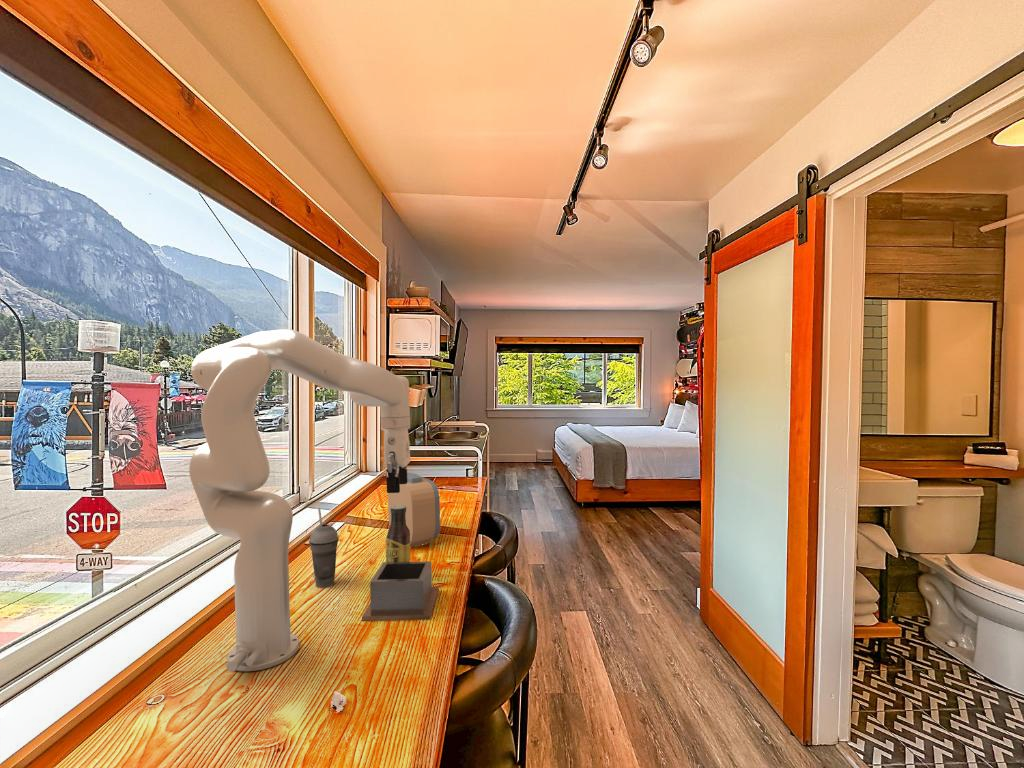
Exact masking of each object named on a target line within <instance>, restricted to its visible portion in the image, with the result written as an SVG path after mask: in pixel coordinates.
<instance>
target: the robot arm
mask: <svg viewBox="0 0 1024 768" xmlns="http://www.w3.org/2000/svg"><path fill="white" fill-rule="evenodd" d="M190 368H191V369H190V372H191V373H190V374H191V376H192V379H193V381H194V382H195V384H196V385H197V386H198V387H199V388H201V389H203V390H206V391H207V393H206V396H205V399H204V400H203V404H202V408H201V414H200V415H201V418H200V419H201V425H202V430H203V432H204V437H205V440H206V442H205V443H202V444H201V445H200V446H198V447H197V448H196V450H195V451H194V452H193V454H192V455H191V458H190V461H189V468H188V469H189V471H188V472H189V478H190V482H191V484H192V487H193V489H194V490H193V491H194V492H195V495H196V498H197V501H198V502H199V505H200V508H201V510H202V512H203V516H204V518H205V520H206V523H207V525H209V527H210V528H211V530H213V531H214V532H215V533H216V534H219V535H220V536H225V537H227V538H228V537H229V538H231V539H232V538H233V539H237V540H239V541H240V543H239V544H240V545H239V549H238V550H237V551H238V552H237V554H236V556H235V559H234V567H233V578H234V579H233V581H234V608H235V609H234V610H235V612H234V613H235V645H234V647H232V649H230V651H229V652H228V654H227V655H226V657H227V659H226V670H227V671H229V672H230V673H231V672H235V671H238V672H255V671H262V670H266V669H269V668H272V667H275V666H277V665H280V664H282V663H284V662H286V661H288V659H290V658H292V656H294V655H295V654H296V653H297V652H298V650H299V648H300V640H299V637H298V636H297V635H296V634H294V633H291V610H290V609H291V606H290V605H291V603H290V570H289V545H290V537H291V532H292V526H293V518H294V517H293V515H294V514H293V509H292V507H291V505H290V503H289V502H288V500H286V499H285V498H284V497H282V496H281V495H279V494H277V493H272V492H267V491H262V490H258V489H260V488H261V487H263V486H264V485H265V484H266V482H267V481H268V479H269V476H270V473H271V472H270V463H269V460H268V456H267V454H266V449H265V447H264V444H263V441H262V438H261V435H260V432H259V428H258V426H257V422H256V421H257V420H256V418H255V407H256V402H257V399H258V397H259V395H260V393H261V391H262V390H263V388H264V387H265V385H266V384H267V383H268V380H269V379H270V376H271V372H272V371H284V372H287V373H289V374H292V375H294V376H296V377H298V378H300V379H303V380H305V381H307V382H310V383H312V384H314V385H317V386H318V387H320V388H324V389H328V390H333V391H341V392H349V393H348V394H349V397H350V399H351V401H352V402H353V403H355V404H357V405H358V406H361V407H379V408H380V412H379V413H380V430H381V431H384V437H383V440H384V445H383V447H384V448H383V449H384V450H383V451H384V452H383V453H384V455H383V456H384V467H385V468H386V470H385V471H386V474H385V475H386V477H385V478H386V480H385V482H386V493H387V494H388V493H399V492H400V484H407V473H408V469H407V468H408V467H407V466H408V464H409V463H410V462H411V451H410V449H411V447H410V437H409V429H411V416H410V415H411V413H410V411H411V410H410V409H411V407H410V383H409V379H408V378H407V377H406V376H400V375H399V376H398V375H396V374H394V373H393V372H391V371H389V370H388V369H386V368H384V367H381V366H379V365H376V364H374V363H370V362H368V361H364V360H362V359H357V358H354V357H353V356H348V355H344V354H341V353H339V352H337V351H336V350H333V349H331V348H330V347H328V346H326V345H324V344H323V343H320V342H318V341H317V340H315V339H313V338H311V337H310V336H307V335H306V334H304V333H302V332H300V331H297V330H295V329H289V328H281V329H273V330H271V329H269V330H262V331H261V330H260V331H257V332H254V333H251V334H248V335H245V336H242V337H240V338H237V339H234V340H230V341H229V342H225V343H222V344H219V345H216V346H213V347H210V348H208V349H205V350H204V351H201V352H200V353H199V354H197V356H195V358H194V360H193V361H192V364H191V367H190Z"/></svg>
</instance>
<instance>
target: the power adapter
mask: <svg viewBox="0 0 1024 768" xmlns="http://www.w3.org/2000/svg"><path fill="white" fill-rule="evenodd" d="M342 701H343V702H342ZM347 702H348V701H347V696H345V695H344V694H342V693H340V692H338V691H334V690H333V696H331V701H330V707H331V706H332V707H334V708H335V707H336V710H335V711H337V712H340V711H343V710H344V707H343V706H344V705H345V704H347ZM333 705H334V706H333ZM332 707H331V708H332ZM340 713H341V712H340Z"/></svg>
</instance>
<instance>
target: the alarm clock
mask: <svg viewBox="0 0 1024 768" xmlns="http://www.w3.org/2000/svg"><path fill="white" fill-rule="evenodd" d="M394 505H405V506H406V513H405V520H406V525H407V527H408V529H409V531H410V547H411V548H416V547H420V546H423V545H422V544H425V545H427V544H426V543H429V544H431V543H430V542H432V543H433V540H435V539H436V538H438V537H439V535H440V529H441V511H440V510H441V507H440V505H441V504H440V493H439V489H438V487H437V484H436V483H435V482H434V481H432V480H431V479H429V478H426V477H424V476H420V474H416V473H413V472H407V484H400V492H399V493H387V508H388V509H387V510H388V513H387V514H388V523H389V524H388V525H389V526H390V524H391V512H390V510H391V507H392V506H394ZM419 545H420V546H419ZM415 546H416V547H415Z"/></svg>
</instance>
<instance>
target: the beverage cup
mask: <svg viewBox="0 0 1024 768" xmlns="http://www.w3.org/2000/svg"><path fill="white" fill-rule="evenodd" d="M317 510H318V517H319V518H318V519H319V525H318V526H316V527H315V528H314V529H313V530H312V531H311V533H310V536H309V542H308V544H309V547H310V552H311V558H312V567H313V574H314V577H313V578H314V581H315V582H314V583H315V587H316V588H318V589H325V588H329V587H331V586H333V585H334V584H335V578H336V563H337V548H338V544H339V535H338V532H337V530H336V529H335V527H333V526H332V525H330V524H326V523H325V524H323V521H322V512H321V507H318V508H317Z"/></svg>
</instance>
